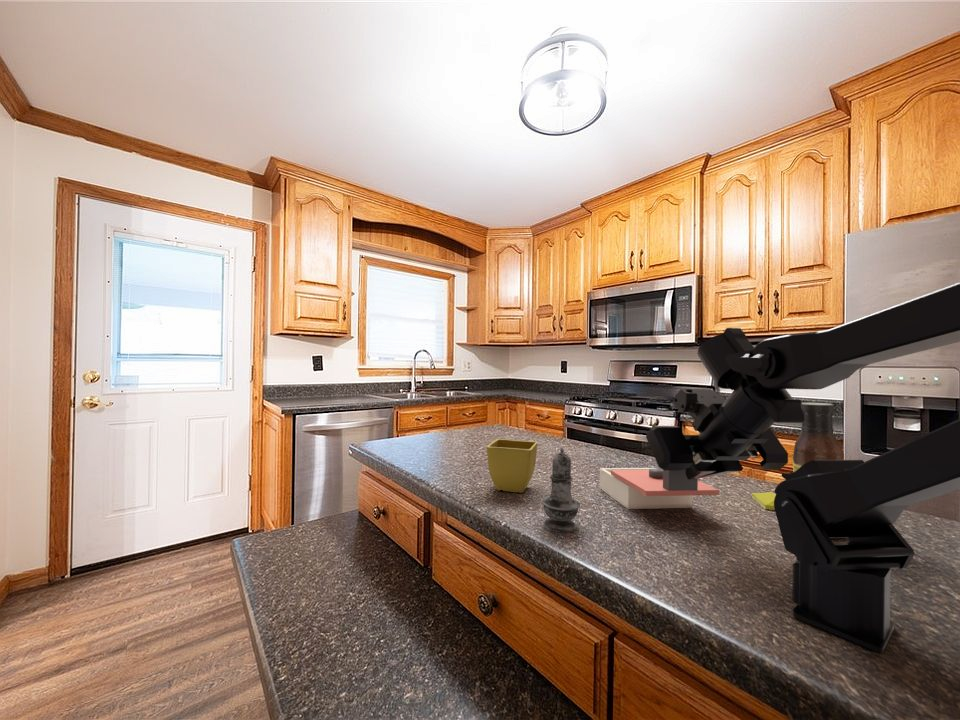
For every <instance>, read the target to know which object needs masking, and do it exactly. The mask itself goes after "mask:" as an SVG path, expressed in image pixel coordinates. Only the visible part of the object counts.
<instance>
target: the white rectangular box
mask: <svg viewBox="0 0 960 720" xmlns="http://www.w3.org/2000/svg"><path fill="white" fill-rule="evenodd" d="M649 469H657V468H656V467H613V468H612V467H608V468H607V467H605V468H604V467H602V468H601V467H600V468H599V478H598V479H599V480H598V481H599V485H598V486H599V487H598V488H599V489H600V490H601V489H602V490H601V491H603V492H604V493H605V494H607V495H608V496H609V497H611V498H612V499H614V500H615V502H617V503H619V504H620V505H622V506H623V507H625V508H626V509H628V510H644V509H646V510H647V509H648V510H650V509H654V510H655V509H692V507H693V495H687V496H645V495H643V494H642V493H640V492H639V491H637V490H635V489H634V488H632V487H630V486H629V485H627V484H626V483H624V482H622V481H621V480H619V479H617V478H616V477H614V476H612V475H611V470H649Z"/></svg>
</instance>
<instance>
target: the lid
mask: <svg viewBox="0 0 960 720" xmlns="http://www.w3.org/2000/svg"><path fill="white" fill-rule="evenodd" d="M611 475H612V476H614V477H616V478H617V479H619V480H621V481H622V482H624V483H626V484H627V485H629V486H630V487H632V488H634V489H635V490H637V491H639V492H640V493H642V494H643V495H645V496H687V495H692V496H720V489H718V488H715V487H713V486H711V485H709V484H706V483H704V482H702V481H700V480H699V478H698V479H693V480H689V479H688V478H687V476H686V469H684V470H663V469H661V468H660V469H659V468H656V469H649V470H611Z"/></svg>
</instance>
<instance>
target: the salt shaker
mask: <svg viewBox="0 0 960 720" xmlns="http://www.w3.org/2000/svg"><path fill="white" fill-rule="evenodd" d="M564 451H565V450H564V449H563V447H561V448H560V449H559V453H557V454H554V455H553V457H552V468H551V469H552V474H551V475H549V478H550V480H551V489H550V490H551V491H550V494H549V496H546V497H544V498H543V499H541V504H542V506H543V509H544V514H545V515H546V516H547V517H548V518H547V519H545V520H544V521H542V522H543V523H542V525H543V527H544V528H545V529H546V530H548V531H551V532H555V533H562V534H564V533H565V534H569V533H574V532H576V531H577V530H578V528H579V526H578V525H577V523H576V522H575V521H573V520H574V519H575V518H576V516H577V515H578V512H579V508H580V507H581V502H580V501H578V500H576V499H575V498H573V494H572V481H574V478H573V477H572V476H571V474H572V473H571V471H572V470H571V469H572V459H571V457H570V456H569V455H568V454H566V453H565V452H564Z"/></svg>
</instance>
